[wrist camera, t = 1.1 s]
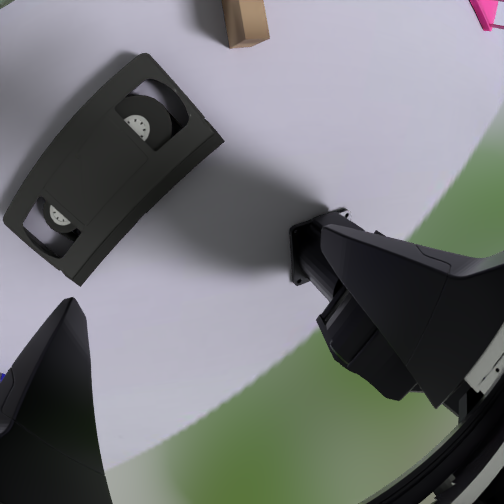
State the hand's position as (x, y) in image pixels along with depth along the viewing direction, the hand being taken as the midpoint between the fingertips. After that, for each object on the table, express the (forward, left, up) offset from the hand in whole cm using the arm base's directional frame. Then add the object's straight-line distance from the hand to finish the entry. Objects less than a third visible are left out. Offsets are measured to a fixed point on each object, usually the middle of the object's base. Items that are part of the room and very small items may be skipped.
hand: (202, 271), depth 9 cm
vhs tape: (+2, +4, -12) cm, 13 cm away
